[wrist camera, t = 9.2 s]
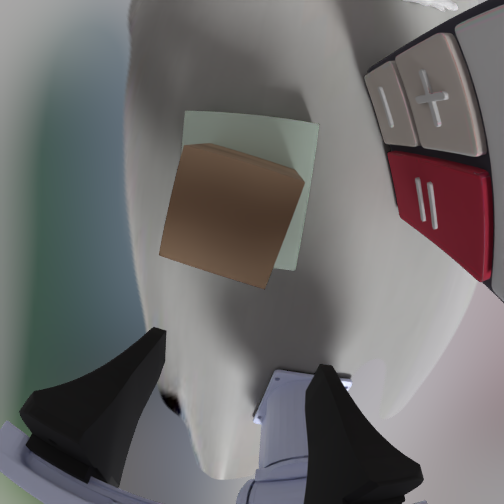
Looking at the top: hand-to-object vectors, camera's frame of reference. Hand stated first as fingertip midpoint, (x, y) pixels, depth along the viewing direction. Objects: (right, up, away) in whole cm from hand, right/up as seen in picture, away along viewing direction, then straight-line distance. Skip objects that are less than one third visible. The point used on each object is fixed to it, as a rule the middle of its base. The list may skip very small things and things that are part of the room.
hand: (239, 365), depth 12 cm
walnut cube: (0, +8, +4) cm, 9 cm away
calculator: (+11, +13, +4) cm, 17 cm away
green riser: (0, +10, +7) cm, 12 cm away
